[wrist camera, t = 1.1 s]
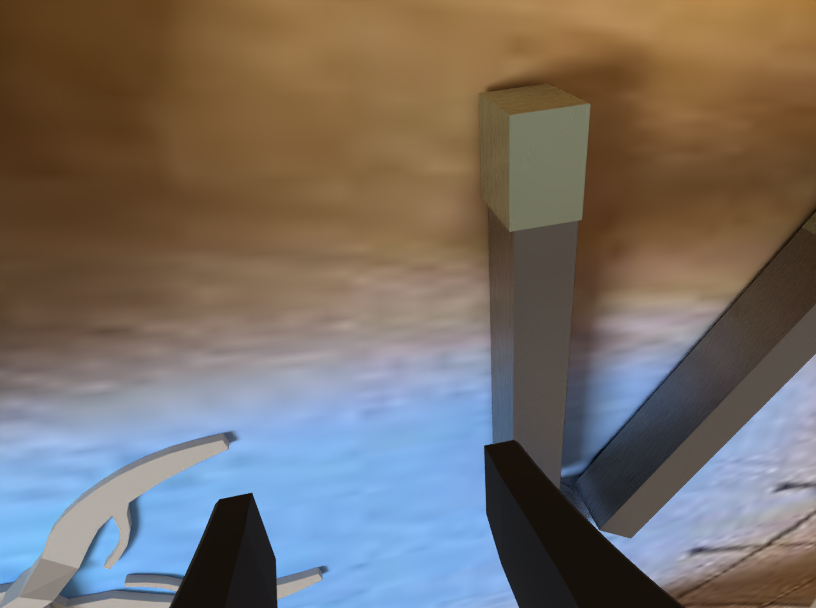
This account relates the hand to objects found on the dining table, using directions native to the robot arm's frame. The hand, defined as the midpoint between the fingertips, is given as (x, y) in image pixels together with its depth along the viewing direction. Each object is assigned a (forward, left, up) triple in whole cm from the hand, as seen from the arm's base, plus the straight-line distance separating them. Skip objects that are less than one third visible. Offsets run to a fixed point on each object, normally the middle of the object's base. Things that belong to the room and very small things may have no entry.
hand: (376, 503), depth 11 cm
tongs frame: (-13, -2, -8) cm, 16 cm away
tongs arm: (-6, -1, -8) cm, 10 cm away
